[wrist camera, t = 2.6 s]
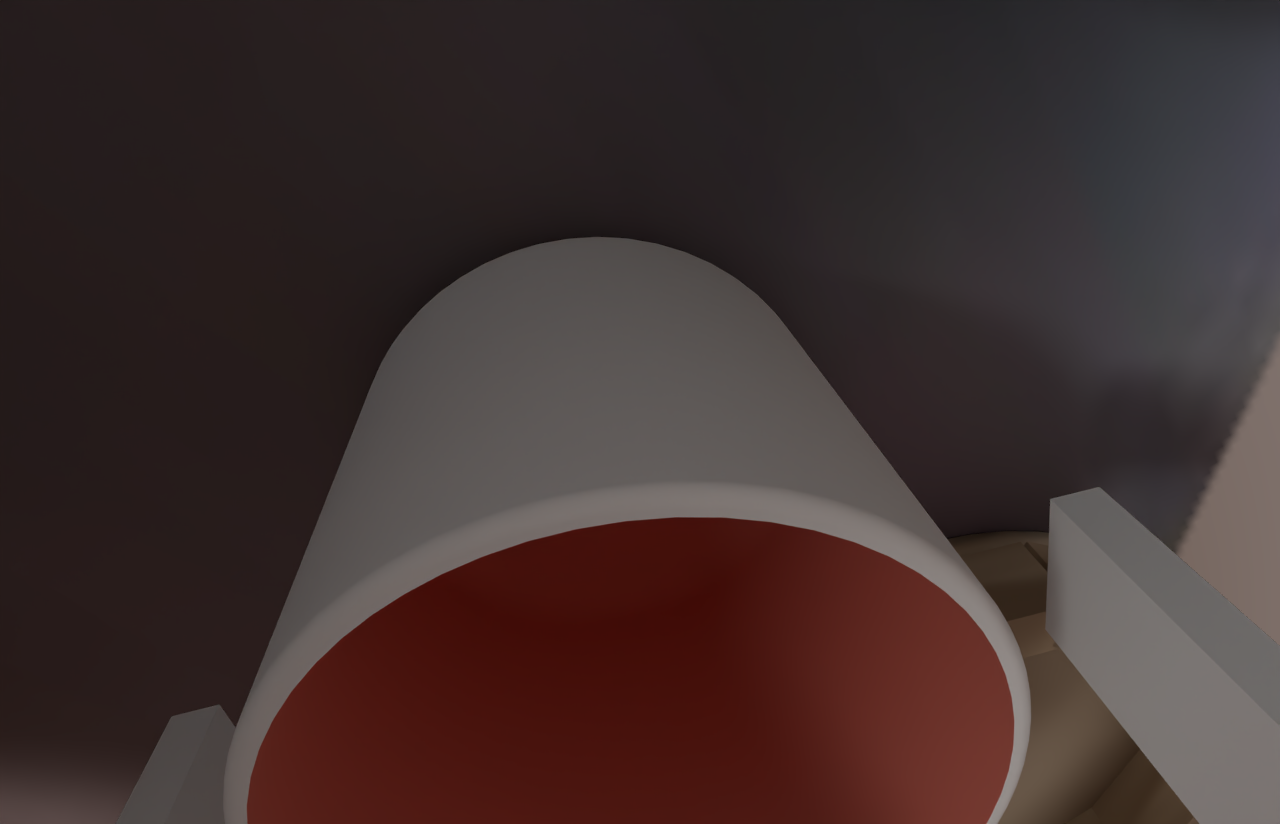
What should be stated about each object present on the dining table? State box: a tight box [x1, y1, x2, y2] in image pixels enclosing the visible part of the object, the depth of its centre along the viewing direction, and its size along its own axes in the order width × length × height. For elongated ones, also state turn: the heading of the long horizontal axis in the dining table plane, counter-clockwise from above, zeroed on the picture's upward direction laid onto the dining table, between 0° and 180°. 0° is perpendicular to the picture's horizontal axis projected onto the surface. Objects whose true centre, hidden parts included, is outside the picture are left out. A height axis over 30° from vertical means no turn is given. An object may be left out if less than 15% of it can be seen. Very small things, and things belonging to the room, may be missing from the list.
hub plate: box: [947, 531, 1199, 824], centre depth 24 cm, size 16×16×3 cm
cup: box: [223, 237, 1031, 824], centre depth 14 cm, size 10×10×10 cm
